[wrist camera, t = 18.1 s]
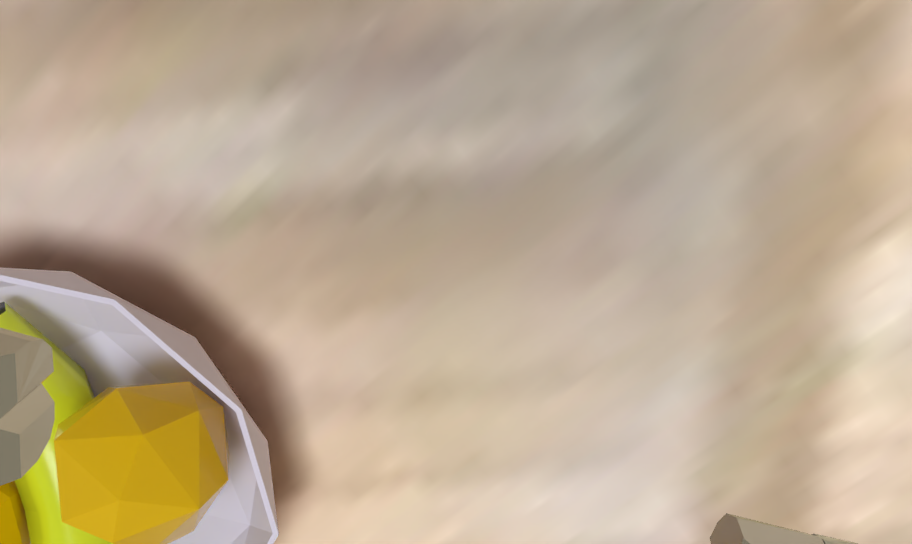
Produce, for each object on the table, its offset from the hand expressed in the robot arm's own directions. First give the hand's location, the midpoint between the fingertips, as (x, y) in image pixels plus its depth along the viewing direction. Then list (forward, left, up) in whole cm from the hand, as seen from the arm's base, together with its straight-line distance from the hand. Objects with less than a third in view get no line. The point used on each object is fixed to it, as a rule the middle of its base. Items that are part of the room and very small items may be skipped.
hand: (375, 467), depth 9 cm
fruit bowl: (-20, -28, -29) cm, 45 cm away
